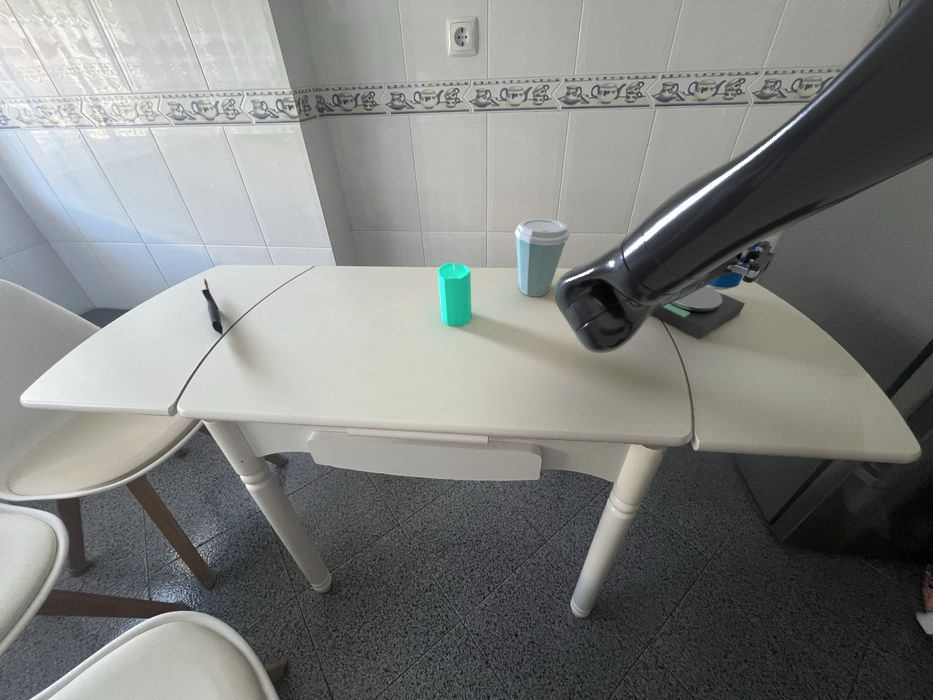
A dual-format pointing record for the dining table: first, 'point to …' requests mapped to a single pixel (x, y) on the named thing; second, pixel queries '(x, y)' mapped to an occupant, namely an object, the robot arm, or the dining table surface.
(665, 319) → the scale
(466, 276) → the candle
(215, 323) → the knife
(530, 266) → the disposable coffee cup
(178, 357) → the dining table surface
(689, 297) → the scale pan
